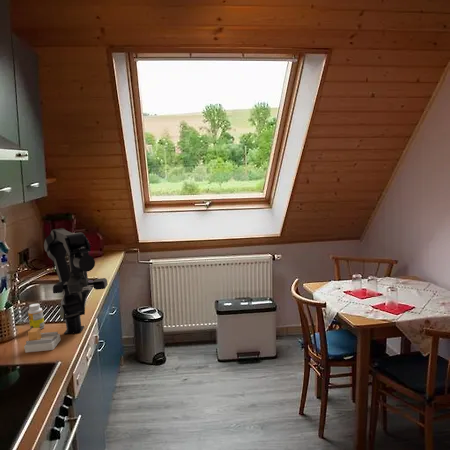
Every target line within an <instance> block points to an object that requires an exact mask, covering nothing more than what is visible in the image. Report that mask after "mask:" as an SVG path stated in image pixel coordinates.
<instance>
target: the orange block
mask: <svg viewBox="0 0 450 450" xmlns="http://www.w3.org/2000/svg"><path fill="white" fill-rule="evenodd" d="M41 333H42V331H41V329H40V328H32V329H30V330H28V332H27V335H28V341H31V340H40V339H41Z"/></svg>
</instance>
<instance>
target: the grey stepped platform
mask: <svg viewBox="0 0 450 450" xmlns="http://www.w3.org/2000/svg"><path fill="white" fill-rule="evenodd" d="M61 340H62V339H61V333H59V332H58V331H51V332H41V339H40V340H31V341H29V340H26V342H25V345H24V352H25V353H35V352H43V351H46V352H47V351H53V350H55V348H56V347H57V345H58V344H59V343H60V342H61Z"/></svg>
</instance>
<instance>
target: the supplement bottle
mask: <svg viewBox="0 0 450 450" xmlns="http://www.w3.org/2000/svg"><path fill="white" fill-rule="evenodd" d="M40 306H41V305H40V303H32V304H29V307H28V308H29V309H28V311H27V315H28V322H29V329H30V330H31V329H32V328H40V330H43V329H44V328H45V326H46V325H45V318H44V313H43V308H42V307H40Z"/></svg>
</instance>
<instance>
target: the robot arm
mask: <svg viewBox="0 0 450 450" xmlns="http://www.w3.org/2000/svg"><path fill="white" fill-rule="evenodd" d="M43 247H44V251H45V252H46V254H47V256H48V258H49V259H51V260H52V262H53V263H54V267H55V271H56V274H57V278H58V282H56V283H55V284H54V285H53V286H52V293H53V294H62V298H61V301H60V304H61V305H60V309H59V317H60V319H62V320H64V321H65V325H66V326H65V328H66V330H65V331H64V335H69V334H70V335H71V334H80V333H82V332H83V329H84V328H85V326H84V325H82V320H81V319H82V318H81V316H83V315H84V316H85V312H86V303H87V299H88V296H89V293H90V292H91V291H92V290H93V289H94V290H96V291H98V290H105V289H106V288H107V286H108V280H107V278H106V277H105V278H104V277H103V278H102V277H100V278H96V279H95V280H94V281H89V277H88V272H91V271H92V270H93V269H94V268H95V266H96V260H95V258H94V256H91V255H89V252H91V251H92V249H91V244H90V242H89V239H88V238H87V236H86V235H85V233H83V232H75V233H74V232H71V231H68V229H67V230H66V228H64V227H61V228H55V229H52V230H51V232H50V234H49V235H48V236H46V237H45V239H44V244H43ZM66 255H68V263H69V266H68V263H67V259H66Z"/></svg>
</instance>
